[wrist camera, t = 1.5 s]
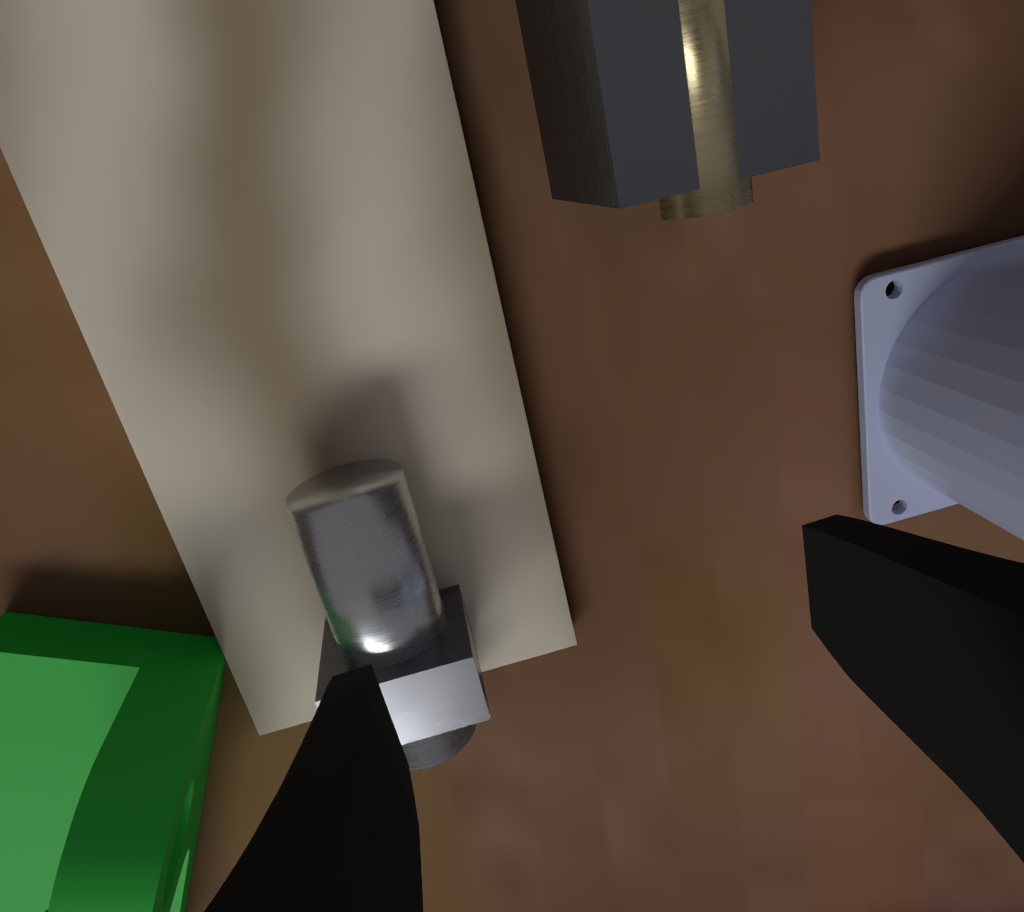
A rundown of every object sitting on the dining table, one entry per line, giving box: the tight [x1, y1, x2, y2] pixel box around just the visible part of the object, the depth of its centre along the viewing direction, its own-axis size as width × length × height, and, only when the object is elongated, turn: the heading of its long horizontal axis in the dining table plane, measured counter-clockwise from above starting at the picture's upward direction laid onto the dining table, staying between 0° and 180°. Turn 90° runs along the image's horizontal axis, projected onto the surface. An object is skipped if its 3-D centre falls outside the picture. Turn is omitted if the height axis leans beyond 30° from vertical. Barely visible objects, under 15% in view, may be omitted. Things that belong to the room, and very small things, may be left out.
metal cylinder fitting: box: [285, 459, 491, 771], centre depth 20 cm, size 8×4×4 cm, turn 12°
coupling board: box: [0, 0, 577, 736], centre depth 18 cm, size 10×28×1 cm, turn 12°
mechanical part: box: [0, 612, 226, 912], centre depth 20 cm, size 12×6×8 cm, turn 165°
